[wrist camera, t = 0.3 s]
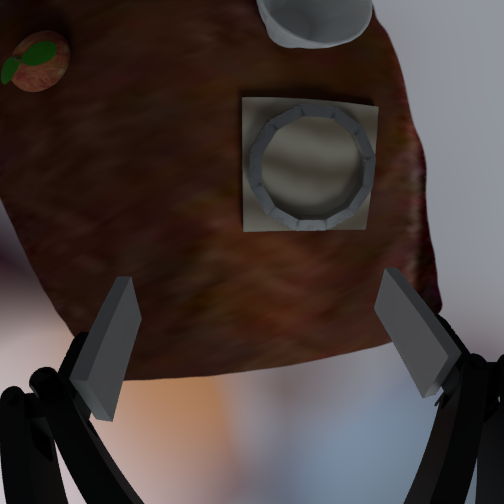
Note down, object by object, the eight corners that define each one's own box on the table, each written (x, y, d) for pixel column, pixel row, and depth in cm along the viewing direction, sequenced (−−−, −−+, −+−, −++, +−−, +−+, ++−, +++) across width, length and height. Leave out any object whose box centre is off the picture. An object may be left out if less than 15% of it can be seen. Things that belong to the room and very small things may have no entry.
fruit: (33, 44, 26) (-7, 38, 17) (86, 28, 27) (50, 13, 18) (31, 96, 30) (-12, 102, 21) (83, 84, 31) (44, 83, 22)
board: (241, 97, 34) (242, 97, 33) (374, 106, 35) (378, 107, 34) (243, 228, 43) (243, 231, 41) (362, 226, 44) (365, 229, 43)
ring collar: (248, 103, 33) (249, 102, 32) (373, 111, 34) (379, 112, 33) (249, 226, 41) (249, 231, 40) (361, 224, 42) (366, 229, 41)
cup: (263, 72, 33) (280, 56, 21) (236, 4, 28) (240, -39, 16) (339, 55, 32) (387, 38, 20) (313, -11, 27) (348, -51, 15)
